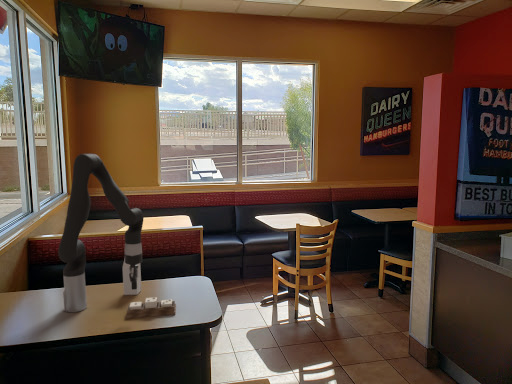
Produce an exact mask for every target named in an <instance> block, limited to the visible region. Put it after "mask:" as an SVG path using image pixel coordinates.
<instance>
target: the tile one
mask: <svg viewBox="0 0 512 384" xmlns="http://www.w3.org/2000/svg"><path fill="white" fill-rule="evenodd" d="M142 303H143V301H133V302H132V301H131V302H130V303H129V304H130V306H129V309H130V310H134V309H142Z"/></svg>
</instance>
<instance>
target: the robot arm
mask: <svg viewBox="0 0 512 384" xmlns="http://www.w3.org/2000/svg"><path fill="white" fill-rule="evenodd" d="M72 170H73V172H72V184H71V189H70V196H69V201H68V204H67V205H68V206H67V211H66V217H65V220H64V221H65V222H64V227H63V232H62V234H61V235H62V236H61V239H60V243H59V245H58V250H57V253H58V254H57V255H58V258H59V259H60V261H61V262H63V263H66V265H65V267H64V268H63V270H62V274H63V276H62V277H63V287H64V291H63V292H62V295H63V307H64V308H63V310H64V312H68V313H77V312H81V311H84V310H86V309H87V307H88V304H87V303H88V302H87V301H88V300H87V290H86V272H85V269H86V266H87V256H86V255H87V252H86V251H87V250H86V246H85V244H84V243H83V241H82V240H80V239H79V236H80V233H81V231H82V229H83V228H84V226H85V224H86V222H87V221H88V218H89V216H90V215H89V214H90V210H91V203H92V201H91V200H92V199H91V196H90V193H89V188H88V184H89V179H90V176H91V175H93V176H94V177H95V178H96V179H97V180H98V182H99V184H101V185H100V186H101V188H102V192H103V194H104V196H105V197H106V199H107V201H108V202H109V203H110V204H111V205H112V206H113V208H114V209H115V212H116V214H117V215H118V218H119V220H120V222H121V223H122V224H124V225H125V226H128V228H127V229H126V231H124V232H125V233H124V258H125V263H126V264H129V265H130V267H129V277H130V282H131V283H132V290H134V289H137V278H138V269H139V265H137V264H139V263H140V264H141V263H143V246H142V230H143V225H144V213H143V212H142V209H140V208H137V207H134V208H130V207H129V202H130V199H129V198H128V197H127V196H126V194H124V192H123V191H122V189H120V187H119V186H118V185H117V183H116V182H115V181H114V178H113V177H112V175H111V174H110V172H109V171H108V169H107V168H106V166H105V163H104V162H103V160H102V159H101V158H100V156H99V155H97V154H95V153H80V154H78V155H77V156H76V157H75V159H74V162H73V167H72Z"/></svg>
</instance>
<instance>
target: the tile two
mask: <svg viewBox="0 0 512 384" xmlns="http://www.w3.org/2000/svg"><path fill="white" fill-rule="evenodd" d="M157 302H158V297H157V296H156V297H145V301H144V303H145V308H157Z"/></svg>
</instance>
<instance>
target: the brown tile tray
mask: <svg viewBox="0 0 512 384" xmlns="http://www.w3.org/2000/svg"><path fill="white" fill-rule="evenodd" d="M130 304H131V303H128V305H127V308H126V313H125V319H127V320H128V319H137V318H148V317H162V316H174V315H175V316H176V311H177V304H176V300H172V304H173V306H172V307H161V301H157V308H145V302H142V309H134V310H130V309H129V306H130Z"/></svg>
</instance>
